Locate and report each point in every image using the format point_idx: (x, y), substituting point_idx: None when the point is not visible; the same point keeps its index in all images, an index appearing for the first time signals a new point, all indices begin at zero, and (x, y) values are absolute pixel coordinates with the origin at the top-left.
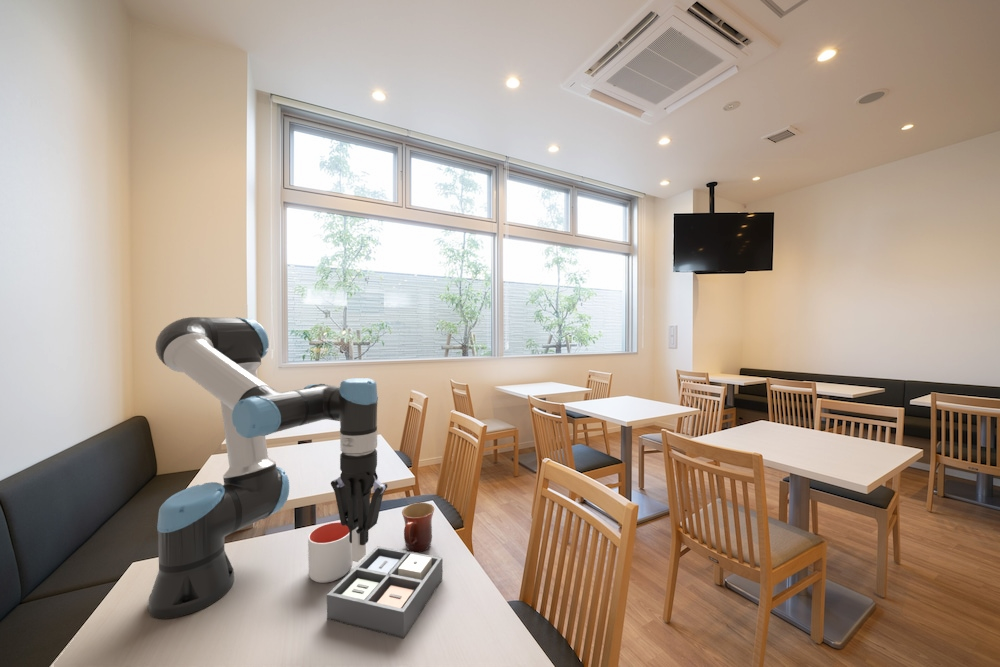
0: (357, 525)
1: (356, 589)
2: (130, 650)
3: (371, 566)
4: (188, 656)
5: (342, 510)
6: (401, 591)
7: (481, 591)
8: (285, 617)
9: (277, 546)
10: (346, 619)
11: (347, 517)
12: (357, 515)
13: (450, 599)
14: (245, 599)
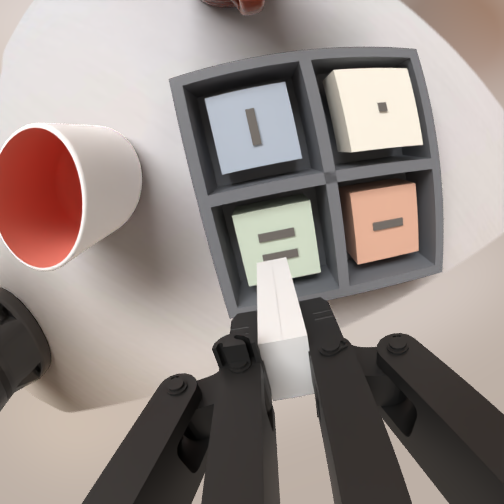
0: (264, 370)
1: (271, 254)
2: (76, 403)
3: (223, 152)
4: (129, 399)
5: (187, 501)
6: (390, 201)
7: (472, 84)
8: (156, 318)
9: None
10: None
11: (190, 425)
12: (268, 428)
13: (441, 122)
14: (62, 315)
